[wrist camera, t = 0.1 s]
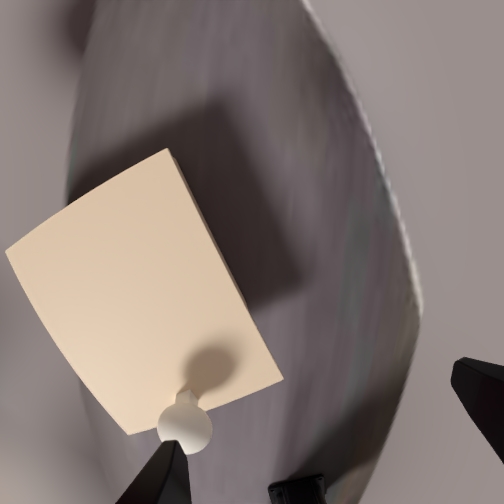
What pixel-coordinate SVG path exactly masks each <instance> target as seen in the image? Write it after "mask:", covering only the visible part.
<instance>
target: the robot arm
mask: <svg viewBox="0 0 504 504" xmlns="http://www.w3.org/2000/svg"><path fill="white" fill-rule="evenodd" d="M451 385H452V387H453V389H454V391H455V392H456V394H457V395H458V397H459V399H460V401H461V402H462V404H463V406H464V408H465V409H466V411H467V412H468V414H469V416H470V417H471V419H472V420H473V422H474V423H475V424H476V426H477V427H478V429H479V430H480V431H481V433H482V434H483V435H484V437H485V438H486V440H487V441H488V442H489V444H490V445H491V446H492V448H493V449H494V451H495V452H496V454H497V455H498V456H499V458H500V459H501V461H502V462H503V464H504V366H502V365H497V364H492V363H488V362H484V361H479V360H475V359H471V358H467V357H463V358H461V359H459V360H457V361H455V363H454V366H453V371H452V376H451ZM268 493H269V496H270V499H271V503H272V504H327V503H326V500H325V484H324V476H323V475H322V474H320V475H316V476H312V477H309V478H305V479H301V480H297V481H292V482H288V483H284V484H279V485H274V486H270V487H268ZM115 504H192V501H191V491H190V481H189V471H188V461H187V457H186V455H185V453H184V451H183V449H182V447H181V445H180V443H179V441H178V440H165V441H163V442H162V443H161V445H160V446H159V447H158V449H157V450H156V451H155V453H154V454H153V455H152V457H151V458H150V459H149V461H148V462H147V463H146V465H145V466H144V467H143V469H142V470H141V471H140V473H139V474H138V475H137V476H136V478H135V479H134V480H133V482H132V483H131V484H130V485H129V487H128V488H127V489H126V491H125V492H124V493H123V494H122V496H121V497H120V498H119V499H118V501H117V502H116V503H115Z"/></svg>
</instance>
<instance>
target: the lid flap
mask: <svg viewBox="0 0 504 504" xmlns="http://www.w3.org/2000/svg"><path fill="white" fill-rule="evenodd" d="M5 252H6V255H7V257H8V259H9V261H10V263H11V265H12V267H13V269H14V272H15V274H16V276H17V278H18V279H19V281H20V283H21V285H22V287H23V289H24V291H25V293H26V295H27V296H28V298H29V300H30V302H31V304H32V305H33V307H34V309H35V311H36V312H37V314H38V316H39V317H40V319H41V321H42V322H43V324H44V326H45V327H46V329H47V331H48V332H49V334H50V335H51V337H52V338H53V340H54V341H55V343H56V344H57V346H58V347H59V349H60V350H61V352H62V353H63V355H64V356H65V358H66V359H67V361H68V362H69V363H70V365H71V366H72V368H73V369H74V370H75V372H76V373H77V374H78V376H79V377H80V378H81V380H82V381H83V382H84V384H85V385H86V386H87V387H88V389H89V390H90V391H91V393H92V394H93V395H94V396H95V398H96V399H97V400H98V401H99V402H100V404H101V405H102V406H103V407H104V408H105V410H106V411H107V412H108V413H109V414H110V415H111V417H112V418H113V419H114V420H115V421H116V422H117V423H118V424H119V425H120V427H121V428H122V429H123V430H124V431H125V432H126V433H127V434H128V435H131V434H134V433H138V432H142V431H145V430H149V429H152V428H155V427H157V431H158V435H159V437H160V439H161V441H162V442H163V441H165V440H178V441H179V443H180V445H181V447H182V449H183V451H184V453H185V454H193V453H196V452H199V451H201V450H202V449H203V448H205V447H206V446H207V444H208V443H209V441H210V439H211V436H212V423H211V420H210V418H209V417H208V415H207V414H206V413H205V412H204V411H207V410H210V409H212V408H215V407H218V406H221V405H223V404H226V403H228V402H231V401H234V400H236V399H239V398H241V397H244V396H246V395H249V394H251V393H253V392H256V391H258V390H260V389H263V388H265V387H267V386H270V385H272V384H274V383H277V382H279V381H281V380H283V379H284V378H283V375H282V373H281V371H280V369H279V368H278V366H277V364H276V362H275V360H274V358H273V356H272V354H271V353H270V351H269V349H268V347H267V345H266V343H265V341H264V339H263V337H262V336H261V334H260V332H259V330H258V328H257V326H256V324H255V322H254V320H253V318H252V316H251V314H250V313H249V311H248V309H247V307H246V305H245V303H244V301H243V299H242V297H241V295H240V293H239V291H238V289H237V287H236V285H235V283H234V281H233V279H232V277H231V276H230V274H229V272H228V270H227V268H226V266H225V264H224V262H223V260H222V258H221V256H220V254H219V252H218V250H217V248H216V246H215V244H214V242H213V240H212V238H211V236H210V234H209V232H208V229H207V227H206V225H205V223H204V221H203V219H202V217H201V215H200V213H199V211H198V209H197V207H196V205H195V203H194V201H193V199H192V197H191V195H190V193H189V190H188V188H187V186H186V184H185V182H184V180H183V178H182V176H181V174H180V172H179V169H178V167H177V165H176V163H175V161H174V159H173V157H172V155H171V152H170V150H169V149H168V148H166V149H164V150H162V151H160V152H158V153H156V154H154V155H152V156H151V157H149V158H147V159H145V160H143V161H141V162H139V163H138V164H136V165H134V166H132V167H130V168H129V169H127V170H125V171H123V172H122V173H120V174H118V175H116V176H115V177H113V178H111V179H110V180H108V181H106V182H105V183H103V184H101V185H100V186H98V187H96V188H95V189H93V190H92V191H90V192H88V193H87V194H85V195H84V196H82V197H80V198H79V199H77V200H76V201H74V202H73V203H71V204H70V205H68V206H67V207H65V208H64V209H62V210H61V211H59V212H58V213H56V214H55V215H53V216H52V217H51V218H49V219H48V220H46V221H45V222H43V223H42V224H41V225H39V226H38V227H37V228H35V229H34V230H32V231H31V232H30V233H28V234H27V235H26V236H24V237H23V238H22V239H20V240H19V241H18V242H16V243H15V244H14V245H13V246H11V247H10V248H9V249H7V250H6V251H5Z"/></svg>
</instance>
